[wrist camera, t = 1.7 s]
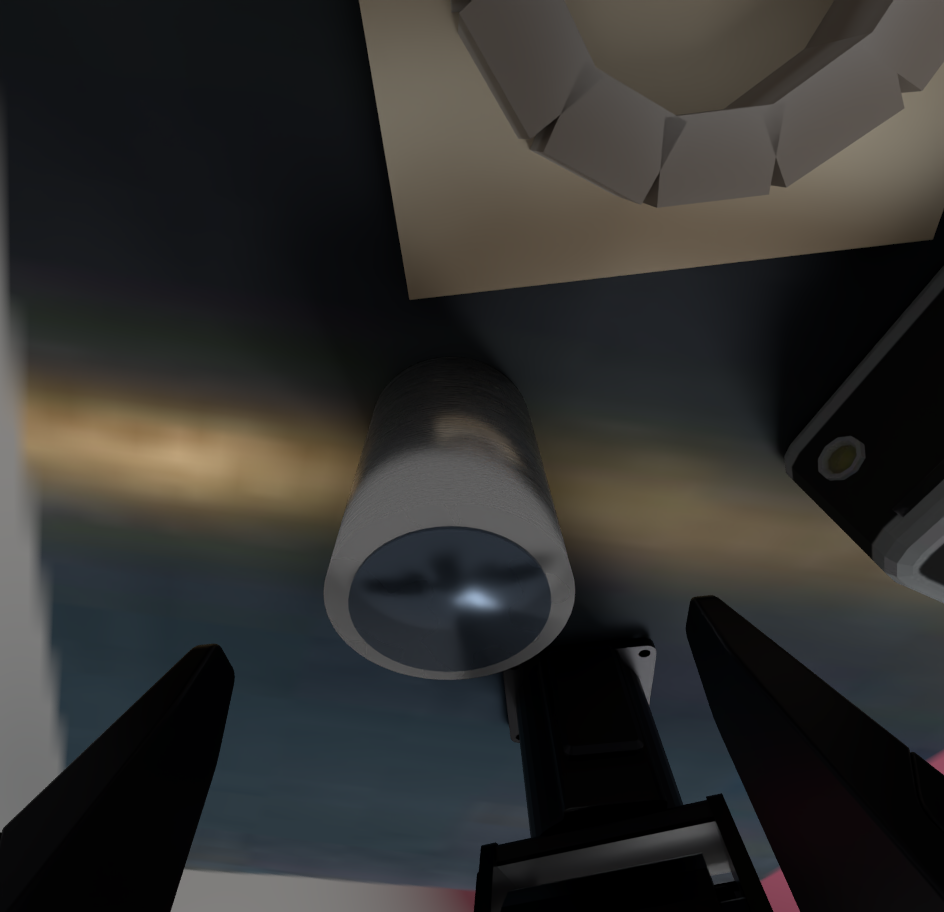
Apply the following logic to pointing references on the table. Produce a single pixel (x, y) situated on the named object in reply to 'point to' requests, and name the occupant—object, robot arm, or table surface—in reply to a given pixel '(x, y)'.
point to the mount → (652, 133)
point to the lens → (449, 530)
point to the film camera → (887, 449)
